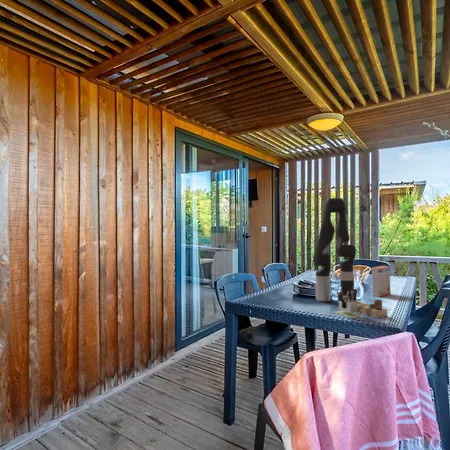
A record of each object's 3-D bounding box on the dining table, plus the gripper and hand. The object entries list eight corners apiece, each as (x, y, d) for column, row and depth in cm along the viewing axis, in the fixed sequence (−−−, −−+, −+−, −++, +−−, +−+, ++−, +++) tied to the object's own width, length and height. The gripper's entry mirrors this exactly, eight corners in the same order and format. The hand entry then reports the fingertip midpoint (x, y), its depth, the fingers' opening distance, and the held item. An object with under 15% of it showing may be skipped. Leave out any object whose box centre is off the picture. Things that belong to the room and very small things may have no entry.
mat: (333, 312, 189) (333, 311, 189) (344, 310, 192) (344, 309, 192) (351, 318, 176) (351, 317, 176) (363, 316, 180) (363, 315, 180)
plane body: (344, 308, 198) (344, 290, 198) (354, 306, 201) (353, 289, 201) (377, 318, 176) (376, 298, 176) (387, 316, 179) (386, 297, 179)
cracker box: (383, 293, 235) (382, 265, 235) (391, 294, 230) (390, 266, 230) (371, 295, 228) (371, 267, 228) (379, 297, 223) (378, 268, 223)
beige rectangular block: (338, 309, 187) (338, 297, 187) (345, 307, 189) (345, 296, 189) (350, 312, 179) (350, 300, 179) (357, 311, 181) (356, 299, 181)
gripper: (351, 276, 191) (351, 304, 191) (332, 279, 185) (333, 307, 185) (361, 278, 184) (361, 307, 184) (342, 281, 178) (343, 311, 178)
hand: (347, 307), depth 184 cm, fingers closed on beige rectangular block, 5 cm apart
